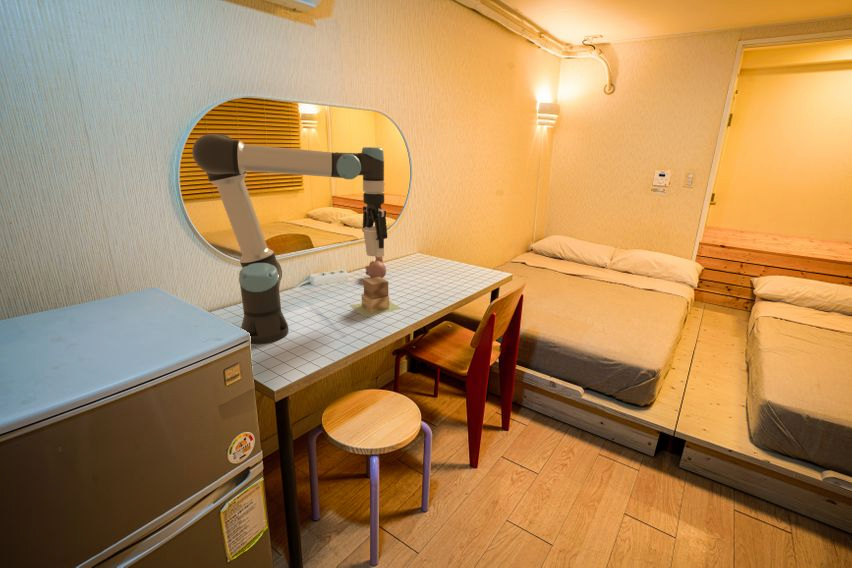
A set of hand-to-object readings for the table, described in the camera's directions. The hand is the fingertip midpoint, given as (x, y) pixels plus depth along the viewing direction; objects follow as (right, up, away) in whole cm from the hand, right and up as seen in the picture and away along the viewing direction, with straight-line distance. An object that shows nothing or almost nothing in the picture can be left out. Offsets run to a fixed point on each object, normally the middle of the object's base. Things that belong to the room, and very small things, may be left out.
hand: (374, 253), depth 155 cm
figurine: (-5, -9, +44) cm, 46 cm away
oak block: (-1, -20, +7) cm, 22 cm away
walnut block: (0, -16, +5) cm, 17 cm away
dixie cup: (0, 0, 0) cm, 0 cm away
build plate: (-1, -22, +7) cm, 23 cm away
